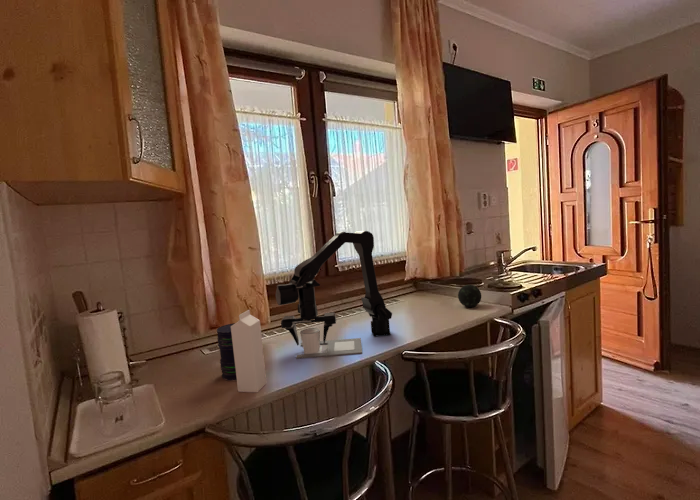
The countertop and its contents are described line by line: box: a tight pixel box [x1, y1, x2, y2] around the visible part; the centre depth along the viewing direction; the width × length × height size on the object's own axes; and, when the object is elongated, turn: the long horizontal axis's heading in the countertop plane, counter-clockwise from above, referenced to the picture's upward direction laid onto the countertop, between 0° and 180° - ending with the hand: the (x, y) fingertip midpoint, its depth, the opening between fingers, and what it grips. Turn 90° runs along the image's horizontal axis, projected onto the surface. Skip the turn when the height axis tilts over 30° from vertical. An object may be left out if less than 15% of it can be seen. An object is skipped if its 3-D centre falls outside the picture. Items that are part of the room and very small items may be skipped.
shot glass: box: [300, 327, 321, 353], centre depth 145 cm, size 7×7×7 cm
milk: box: [231, 309, 267, 393], centre depth 117 cm, size 6×6×22 cm
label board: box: [296, 337, 363, 360], centre depth 145 cm, size 22×15×1 cm
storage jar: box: [216, 322, 237, 382], centre depth 128 cm, size 10×10×15 cm
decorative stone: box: [457, 284, 482, 308], centre depth 185 cm, size 10×10×10 cm
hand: (311, 343), depth 145 cm, fingers open, 9 cm apart
